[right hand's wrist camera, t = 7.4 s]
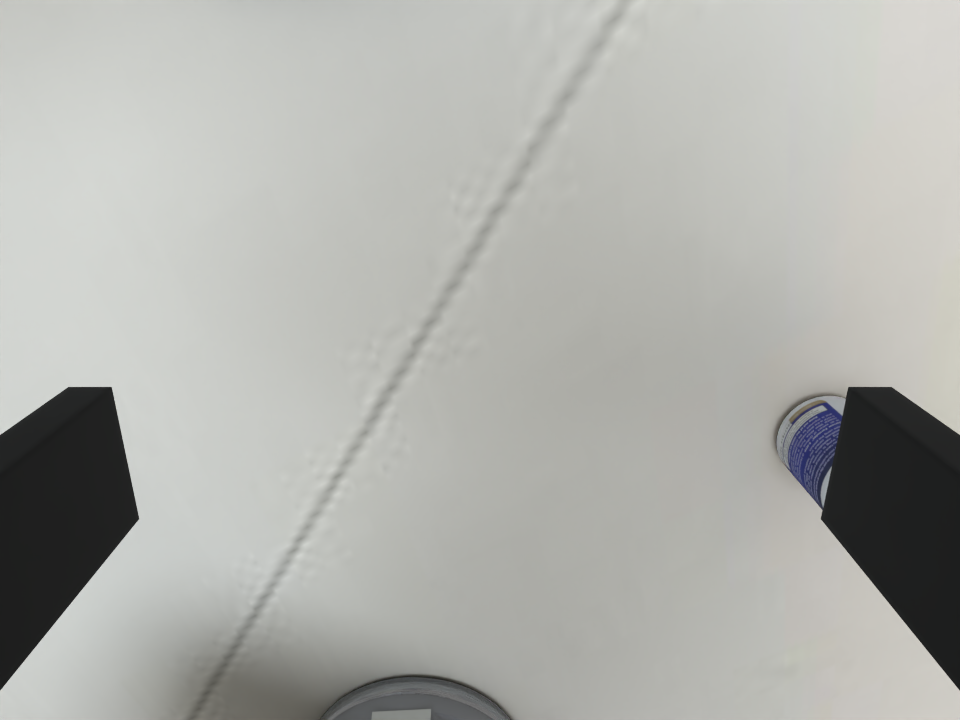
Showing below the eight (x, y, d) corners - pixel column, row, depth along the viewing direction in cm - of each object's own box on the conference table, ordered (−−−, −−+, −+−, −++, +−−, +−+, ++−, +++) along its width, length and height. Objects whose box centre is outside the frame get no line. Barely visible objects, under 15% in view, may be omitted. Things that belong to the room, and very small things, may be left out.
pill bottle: (769, 476, 41) (843, 572, 33) (779, 395, 39) (860, 476, 31) (859, 472, 41) (957, 567, 32) (873, 391, 39) (980, 470, 31)
